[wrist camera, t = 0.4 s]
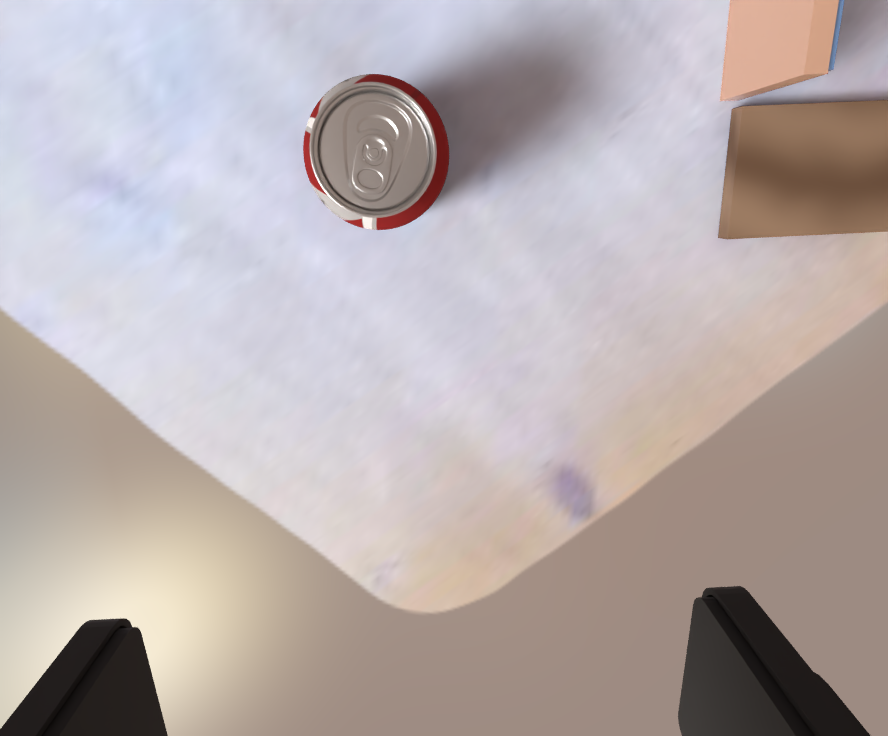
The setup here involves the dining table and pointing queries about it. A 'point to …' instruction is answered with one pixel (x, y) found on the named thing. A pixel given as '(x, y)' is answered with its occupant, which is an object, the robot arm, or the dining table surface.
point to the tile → (778, 44)
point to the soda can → (376, 152)
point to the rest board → (806, 170)
